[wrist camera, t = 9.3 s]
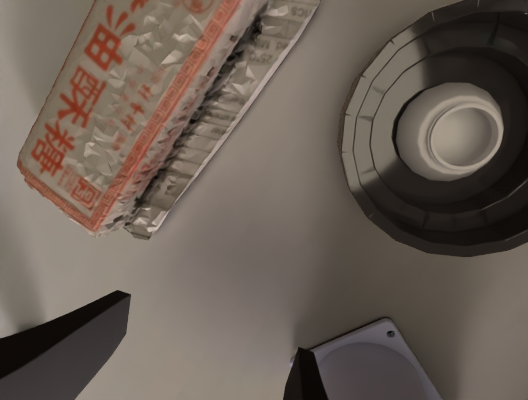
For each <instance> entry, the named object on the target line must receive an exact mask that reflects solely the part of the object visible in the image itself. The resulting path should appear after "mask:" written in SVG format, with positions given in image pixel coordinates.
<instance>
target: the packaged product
mask: <svg viewBox="0 0 528 400" xmlns="http://www.w3.org/2000/svg"><path fill="white" fill-rule="evenodd" d="M319 3H320V0H95V1H94V4H93V6H92V8H91V10H90V12H89V14H88V16H87V18H86V20H85V21H84V23H83V26H82V28H81V30H80V32H79V34H78V36H77V38H76V40H75V42H74V44H73V46H72V48H71V50H70V52H69V54H68V56H67V58H66V61H65V63H64V65H63V67H62V69H61V71H60V73H59V75H58V77H57V79H56V81H55V83H54V85H53V87H52V89H51V91H50V94H49V95H48V97H47V98H46V102H45V104H44V106H43V107H42V109H41V111H40V113H39V116H38V118H37V120H36V122H35V123H34V125H33V126H32V129H31V131H30V133H29V136H28V138H27V140H26V142H25V144H24V145H23V147H22V149H21V151H20V153H19V156H18V161H17V167H18V168H19V169H20V171H21V174H22V175H23V176H24V177H25V182H26V183H27V185H28V186H29V187H30V188H31V189H35V190H37V191H39V193H40V194H41V195H42V196H43V197H45V198H46V199H48V200H49V201H51V202H52V203H53V204H54V205H55V206H57V207H58V208H59V210H60V212H62V213H63V214H65V215H66V216H67V217H69V218H70V219H71V220H72V221H73V222H75V223H77V224H78V225H80V226H81V227H82V228H84V229H85V230H86V231H87V232H88V233H89V234H90V235H91V236H93V237H94V238H98V237H100V236H102V235H103V236H107V235H108V233H109V232H110V231H115V230H119V229H120V228H122V227H123V228H125V229H126V230H127V231H128V232H130V233H131V234H132V235H133V237H134V238H138V239H143V240H148V239H149V238H150V237H151V236H152V235H153V234H154V233H155V232H156V231H157V230H158V228H159V227H160V225H161V224H162V222H163V220H164V219H165V217H166V216H167V214H168V212H169V211H170V209H171V208H172V206H173V205H174V204H175V203H176V201H177V200H178V199H179V198H180V196H181V195H182V194H183V193H184V191H185V190H186V189H187V188H188V187H189V185H190V184H191V183H192V182H193V180H194V179H195V178H196V177H197V176H198V174H199V173H200V172H201V171H202V169H203V168H204V167H205V165H206V164H207V163H208V162H209V160H210V159H211V158H212V156H213V155H214V154H215V153H216V151H217V150H218V149H219V148H220V146H221V145H222V144H223V142H224V141H225V140H226V139H227V137H228V136H229V134H230V133H231V132H232V130H233V129H234V127H235V126H236V125H237V123H238V122H239V121H240V119H241V118H242V116H243V115H244V114H245V112H246V111H247V109H248V108H249V107H250V105H251V104H252V103H253V101H254V100H255V98H256V97H257V96H258V94H259V93H260V91H261V90H262V89H263V87H264V86H265V84H266V83H267V82H268V80H269V79H270V77H271V76H272V75H273V73H274V72H275V70H276V69H277V68H278V66H279V65H280V64H281V62H282V61H283V59H284V58H285V57H286V55H287V54H288V52H289V51H290V50H291V48H292V47H293V45H294V44H295V43H296V41H297V40H298V38H299V37H300V36H301V34H302V32H303V31H304V29H305V27H306V25H307V24H308V22H309V20H310V19H311V17H312V15H313V14H314V12H315V10H316V8H317V7H318V5H319Z"/></svg>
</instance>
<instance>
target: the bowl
mask: <svg viewBox="0 0 528 400" xmlns="http://www.w3.org/2000/svg"><path fill="white" fill-rule="evenodd" d="M448 82H449V83H470V84H473V85H475V86H477V87H479V88H481V89H483V90H485V91H487V92H488V93H489V94H490V95H491V96H492V98H493V99H494V100H495V101H496V103H497V104H498V105H499V106H500V109H501V114H502V119H503V124H504V131H503V137H502V141H501V144H500V147H499V149H498V150H497V152H496V153H495V154H494V156H493V157H492V158H491V159H490V161H489V162H488V163H487V164H486V165H484V166H483V167H481V168H480V169H478V170H477V171H476V172H474V173H473V174H471V175H470V176H467V177H463V178H460V179H456V180H453V181H437V180H429V179H427V178H425V177H423V176H421V175H419V174H417V173H414V172H413V171H412V170H411V169H410V168H409V167H408V166H407V165H406V163H405V162H404V161H403V160H402V159H401V157H400V154H399V150H398V147H397V143H396V135H397V128H398V121H399V120H400V118H401V116H402V114H403V113H404V111H405V109H406V108H407V106H408V104H409V103H410V102H411V101H413V100H414V99H415V98H416V97H418V96H419V95H420V94H421V93H422V92H424V91H425V90H427V89H430V88H433V87H436V86H438V85H441V84H444V83H448ZM337 143H338V150H339V154H340V158H341V163H342V167H343V171H344V175H345V178H346V181H347V185H348V187H349V190H350V191H351V193H352V194H353V196H354V198H355V199H356V201H357V202H358V204H359V206H360V207H361V209H362V210H363V212H364V214H365V215H366V217H368V219H369V220H371V221H372V222H373V223H374V224H375V225H377V226H378V227H379V228H380V229H382V230H383V231H384V232H385V233H387V234H388V235H389V236H390V237H391V238H393V239H395V240H396V241H398V242H401V243H403V244H406V245H408V246H411V247H413V248H416V249H418V250H421V251H423V252H426V253H430V254H439V255H449V256H460V257H472V256H478V255H484V254H490V253H496V252H502V251H508V250H511V249H513V248H516V247H518V246H520V245H522V244H525V243H527V242H528V0H463V1H460V2H457V3H454V4H451V5H448V6H445V7H442V8H439V9H436V10H433V11H431V12H429V13H427V14H426V15H424V16H423V17H421V18H420V19H419V20H417V21H416V22H414V23H413V24H411V25H410V26H408V27H407V28H406V29H404V30H403V31H401V32H400V33H398V34H397V35H395V36H394V37H393V38H391V39H390V40H389V41H388V42H387V43H386V44H385V45H384V46H383V47H382V48H381V49H380V50H379V51H377V52H376V54H375V55H374V56H373V57H372V58H371V60H370V61H369V62H368V63H367V65H366V66H365V67H364V68H363V69H362V71H361V72H360V73H359V74H358V76H357V77H356V78H355V79H354V81H353V83H352V85H351V88H350V90H349V92H348V95H347V97H346V100H345V102H344V104H343V107H342V109H341V113H340V120H339V131H338V141H337Z"/></svg>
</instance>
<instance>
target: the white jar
mask: <svg viewBox="0 0 528 400" xmlns="http://www.w3.org/2000/svg"><path fill="white" fill-rule="evenodd" d="M503 131H504V124H503V119H502V114H501V109H500V106H499V105H498V104H497V103H496V101H495V100H494V99H493V98H492V96H491V95H490V94H489V93H488V92H487V91H485V90H483V89H481V88H479V87H477V86H475V85H473V84H470V83H449V82H448V83H444V84H441V85H438V86H436V87H433V88H430V89H427V90H425V91H424V92H422V93H421V94H420V95H419V96H418V97H416V98H415V99H414V100H413V101H411V102H410V103H409V104H408V106H407V108H406V109H405V111H404V113H403V114H402V116H401V118H400V120H399V121H398V128H397V135H396V143H397V147H398V150H399V154H400V157H401V159H402V160H403V161H404V162H405V163H406V165H407V166H408V167H409V168H410V169H411V170H412V171H413V172H414V173H417V174H419V175H421V176H423V177H425V178H427V179H429V180H437V181H453V180H456V179H460V178H463V177H467V176H470V175H471V174H473V173H474V172H476V171H477V170H478V169H480V168H481V167H483V166H484V165H486V164H487V163H488V162H489V161H490V159H491V158H492V157H493V156H494V154H495V153H496V152H497V150H498V149H499V147H500V144H501V141H502V137H503Z"/></svg>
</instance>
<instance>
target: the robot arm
mask: <svg viewBox="0 0 528 400" xmlns="http://www.w3.org/2000/svg"><path fill="white" fill-rule="evenodd" d="M130 298H131V294H128V293H125V292H122V291H119V290H117V291H114V292H112V293H110V294H108V295H106V296H104V297H102V298H100V299H98V300H96V301H94V302H91V303H89V304H87V305H85V306H83V307H81V308H79V309H77V310H74V311H72V312H70V313H68V314H65V315H63V316H61V317H58V318H56V319H54V320H51V321H49V322H46V323H44V324H42V325H39V326H36V327H34V328H31V329H28V330H25V331H22V332H19V333H16V334H13V335H10V336H7V337H4V338H0V400H75V398H76V397H77V396H78V395H79V394H80V392H81V391H82V390H83V389H84V388H85V387H86V385H87V384H88V383H89V382H90V381H91V380H92V378H93V377H94V376H95V375H96V374H97V372H98V371H99V370H100V369H101V368H102V366H103V365H104V364H105V363H106V362H107V361H108V359H109V358H110V357H111V356H112V354H113V353H114V351H115V350H116V348H117V347H118V345H119V344H120V342H121V341H122V339H123V338H124V336H125V334H126V330H127V322H128V314H129V306H130ZM388 331H393V333H390V334H389V333H387V332H388ZM290 367H291V371H290V374H289V377H288V380H287V383H286V385H285V391H284V397H283V400H443V398H442V397H441V395H440V394H439V392H438V391H437V389H436V388H435V386H434V385H433V383H432V381H431V380H430V378H429V377H428V375H427V374H426V372H425V371H424V369H423V368H422V366H421V364H420V363H419V361H418V360H417V358H416V357H415V355H414V354H413V352H412V351H411V349H410V347H409V346H408V344H407V343H406V341H405V340H404V338H403V337H402V335H401V334H400V332H399V331H398V329H397V327H396V326H395V324H394V323H393V321H392V320H390V319H386V318H385V319H381V320H379V321H377V322H374V323H372V324H370V325H367V326H365V327H363V328H360V329H358V330H356V331H353V332H351V333H349V334H346V335H344V336H342V337H340V338H337V339H335V340H333V341H330V342H328V343H326V344H323V345H321V346H319V347H316V348H314V349H312V350H306V349H303V348H300V347H298V350H297V353H296V356H295V357H293V358H292V359H291V361H290Z"/></svg>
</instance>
